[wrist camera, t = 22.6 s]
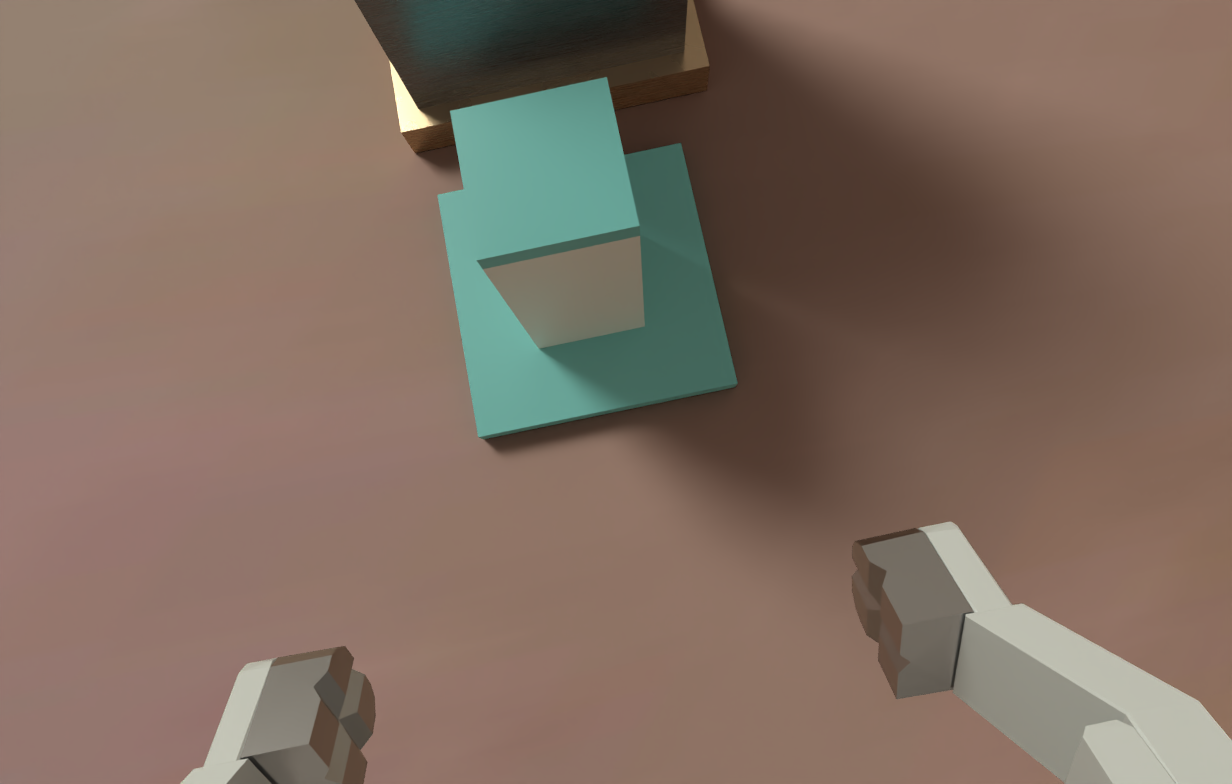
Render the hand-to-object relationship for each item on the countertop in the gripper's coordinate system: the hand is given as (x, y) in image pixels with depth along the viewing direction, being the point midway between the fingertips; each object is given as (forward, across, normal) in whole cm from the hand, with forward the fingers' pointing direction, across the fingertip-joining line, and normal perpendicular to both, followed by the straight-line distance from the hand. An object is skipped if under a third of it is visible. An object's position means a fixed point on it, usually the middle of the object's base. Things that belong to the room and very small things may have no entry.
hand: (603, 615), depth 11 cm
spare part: (+23, 0, +6) cm, 24 cm away
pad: (+24, 0, +6) cm, 25 cm away
